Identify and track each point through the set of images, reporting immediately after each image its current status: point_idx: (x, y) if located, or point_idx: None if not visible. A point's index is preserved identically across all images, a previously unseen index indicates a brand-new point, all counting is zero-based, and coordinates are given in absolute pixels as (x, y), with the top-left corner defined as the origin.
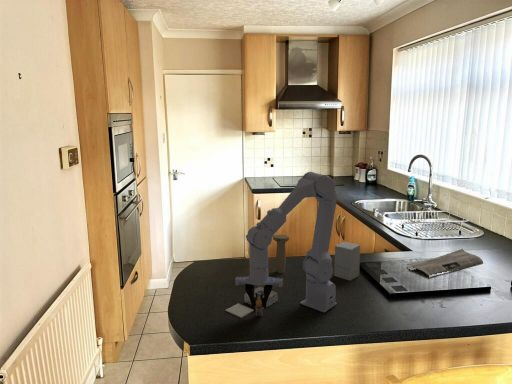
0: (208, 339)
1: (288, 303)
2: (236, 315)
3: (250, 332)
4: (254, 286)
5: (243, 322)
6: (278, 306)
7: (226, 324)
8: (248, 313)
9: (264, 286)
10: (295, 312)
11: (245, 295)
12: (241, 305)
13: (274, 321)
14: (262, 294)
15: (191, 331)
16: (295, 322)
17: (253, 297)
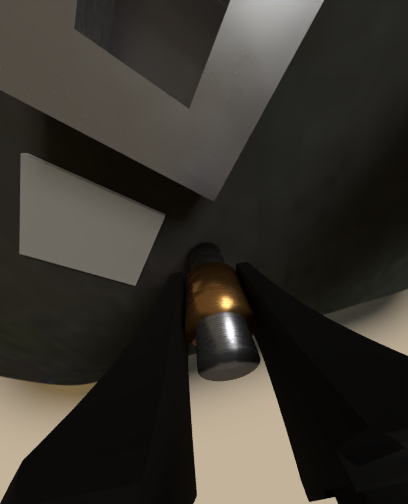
0: None
1: (377, 34)
2: (107, 275)
3: None
4: (163, 413)
5: None
6: (296, 115)
7: (109, 323)
8: (150, 248)
9: (331, 488)
10: (372, 174)
11: (3, 89)
12: (65, 180)
13: (267, 269)
14: (258, 362)
15: (37, 369)
16: (342, 256)
17: (184, 356)
